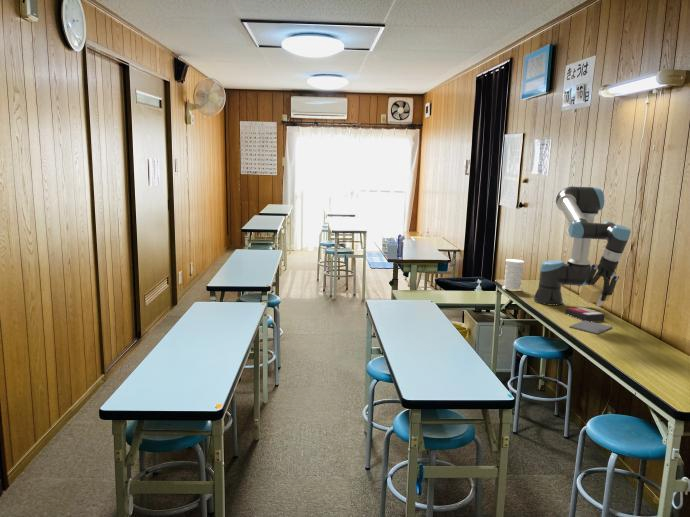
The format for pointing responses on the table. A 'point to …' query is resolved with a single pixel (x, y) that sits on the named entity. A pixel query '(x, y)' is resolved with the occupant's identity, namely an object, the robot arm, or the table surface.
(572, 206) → the robot arm
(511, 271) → the decorative container
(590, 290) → the ochre block
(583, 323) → the charcoal mat
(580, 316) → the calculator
